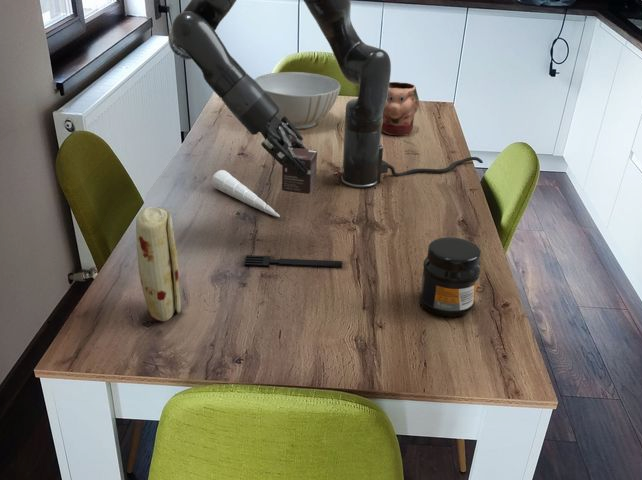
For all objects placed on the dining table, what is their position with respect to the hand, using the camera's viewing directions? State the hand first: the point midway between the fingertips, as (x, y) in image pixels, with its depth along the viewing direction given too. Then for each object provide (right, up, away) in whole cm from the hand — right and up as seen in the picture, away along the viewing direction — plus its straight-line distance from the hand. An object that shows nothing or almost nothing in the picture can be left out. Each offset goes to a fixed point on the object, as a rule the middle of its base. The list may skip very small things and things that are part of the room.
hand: (307, 168), depth 144 cm
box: (-2, -4, +3) cm, 5 cm away
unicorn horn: (-16, -1, +27) cm, 31 cm away
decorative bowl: (-7, +34, +78) cm, 86 cm away
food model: (-26, -31, -16) cm, 43 cm away
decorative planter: (+25, +32, +77) cm, 87 cm away
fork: (-3, -19, +2) cm, 20 cm away
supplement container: (+27, -29, -9) cm, 40 cm away
